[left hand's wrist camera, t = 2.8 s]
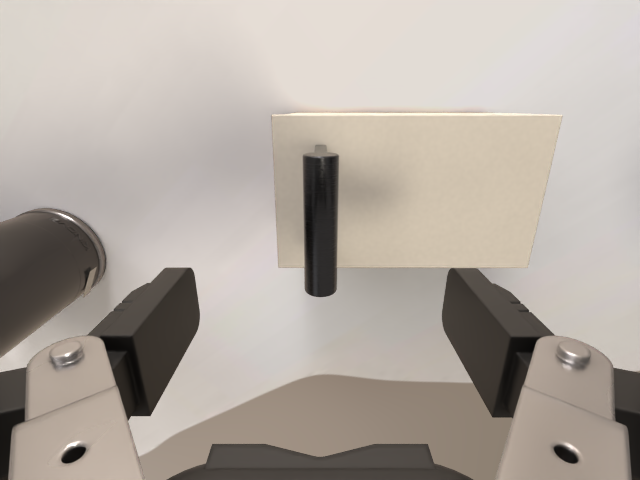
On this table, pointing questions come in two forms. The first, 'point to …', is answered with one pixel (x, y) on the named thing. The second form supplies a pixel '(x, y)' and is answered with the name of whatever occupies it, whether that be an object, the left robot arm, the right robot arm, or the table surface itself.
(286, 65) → the table surface
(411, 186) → the lid
